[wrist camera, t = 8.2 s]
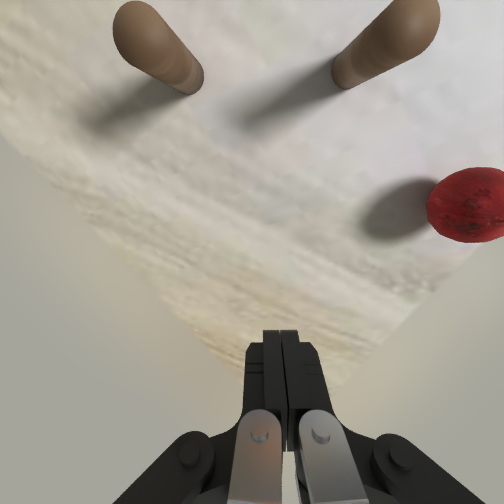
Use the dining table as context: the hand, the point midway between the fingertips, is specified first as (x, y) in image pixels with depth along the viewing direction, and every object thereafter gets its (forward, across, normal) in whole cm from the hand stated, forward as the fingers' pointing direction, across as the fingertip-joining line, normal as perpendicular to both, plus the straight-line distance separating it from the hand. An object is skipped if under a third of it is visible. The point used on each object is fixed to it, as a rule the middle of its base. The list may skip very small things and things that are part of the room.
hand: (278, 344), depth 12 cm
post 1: (+16, +6, -13) cm, 21 cm away
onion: (+16, -16, -3) cm, 23 cm away
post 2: (+16, -6, -13) cm, 21 cm away
